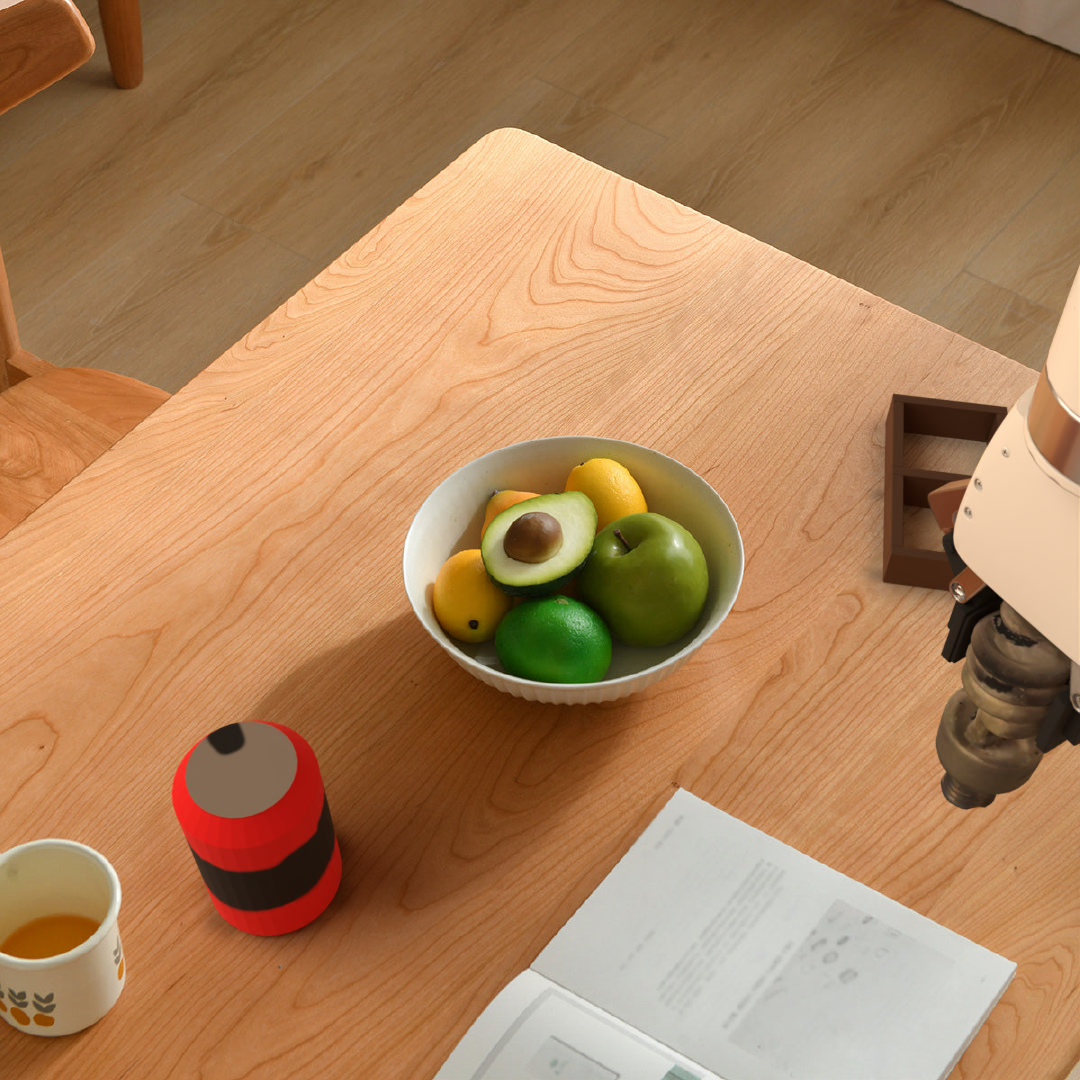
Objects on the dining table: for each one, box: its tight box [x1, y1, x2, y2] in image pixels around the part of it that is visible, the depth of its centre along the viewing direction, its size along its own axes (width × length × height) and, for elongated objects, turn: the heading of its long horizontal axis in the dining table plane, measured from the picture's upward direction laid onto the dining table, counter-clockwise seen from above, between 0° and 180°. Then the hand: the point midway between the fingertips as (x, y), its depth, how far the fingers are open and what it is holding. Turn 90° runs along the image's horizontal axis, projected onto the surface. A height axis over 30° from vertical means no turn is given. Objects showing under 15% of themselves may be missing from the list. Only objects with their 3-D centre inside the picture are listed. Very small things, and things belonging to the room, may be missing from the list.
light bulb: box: [935, 600, 1071, 811], centre depth 67 cm, size 6×6×15 cm
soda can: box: [171, 719, 343, 937], centre depth 73 cm, size 8×8×12 cm
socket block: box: [882, 393, 1009, 592], centre depth 95 cm, size 16×8×3 cm, turn 170°
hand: (1014, 688), depth 66 cm, fingers closed on light bulb, 5 cm apart
